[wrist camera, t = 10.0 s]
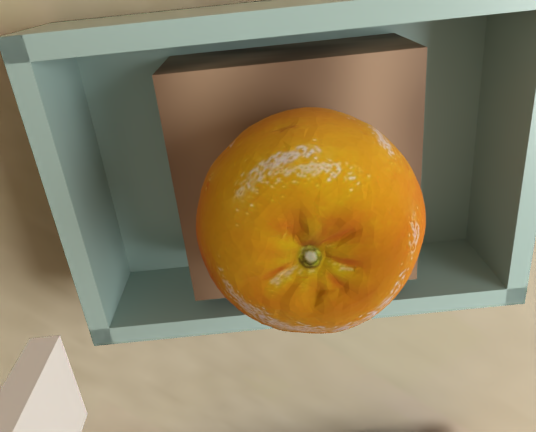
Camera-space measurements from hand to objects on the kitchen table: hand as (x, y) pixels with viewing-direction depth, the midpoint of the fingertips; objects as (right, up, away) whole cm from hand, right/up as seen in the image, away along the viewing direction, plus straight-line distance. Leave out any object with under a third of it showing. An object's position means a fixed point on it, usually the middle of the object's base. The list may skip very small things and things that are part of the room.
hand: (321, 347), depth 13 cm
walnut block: (0, +7, +14) cm, 15 cm away
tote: (0, +7, +15) cm, 16 cm away
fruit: (0, +5, +10) cm, 11 cm away
